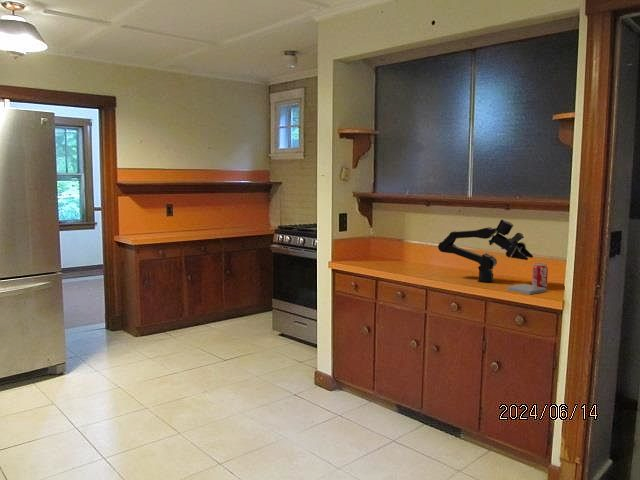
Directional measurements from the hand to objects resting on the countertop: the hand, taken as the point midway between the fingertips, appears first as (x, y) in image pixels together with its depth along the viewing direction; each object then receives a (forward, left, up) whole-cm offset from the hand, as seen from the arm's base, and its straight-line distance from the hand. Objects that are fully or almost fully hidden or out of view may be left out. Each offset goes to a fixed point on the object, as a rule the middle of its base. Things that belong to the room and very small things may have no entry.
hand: (530, 258), depth 267 cm
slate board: (+3, -10, -15) cm, 18 cm away
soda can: (+5, +2, -15) cm, 16 cm away
